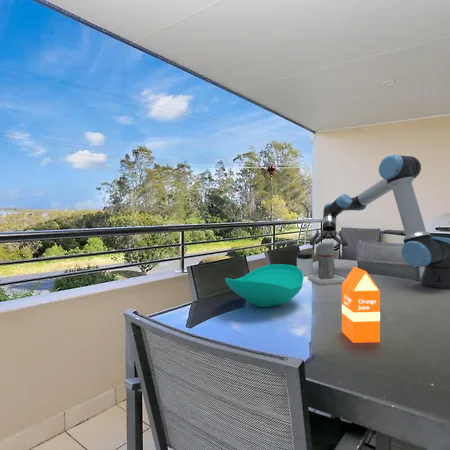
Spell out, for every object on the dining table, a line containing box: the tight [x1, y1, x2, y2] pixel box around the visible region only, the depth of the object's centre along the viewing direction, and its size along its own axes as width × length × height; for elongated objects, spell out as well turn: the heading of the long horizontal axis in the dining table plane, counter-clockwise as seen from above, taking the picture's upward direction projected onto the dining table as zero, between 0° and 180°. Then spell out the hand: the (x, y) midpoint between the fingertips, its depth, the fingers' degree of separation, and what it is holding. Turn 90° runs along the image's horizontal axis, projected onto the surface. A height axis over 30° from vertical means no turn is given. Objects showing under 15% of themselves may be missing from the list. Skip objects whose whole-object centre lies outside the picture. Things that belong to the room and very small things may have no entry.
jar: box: [296, 252, 314, 277], centre depth 199 cm, size 9×8×12 cm
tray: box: [307, 273, 346, 286], centre depth 179 cm, size 14×14×2 cm
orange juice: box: [341, 266, 381, 344], centre depth 101 cm, size 8×9×20 cm
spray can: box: [317, 240, 335, 280], centre depth 179 cm, size 8×8×20 cm
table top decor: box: [224, 263, 305, 308], centre depth 137 cm, size 40×28×13 cm
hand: (327, 254), depth 188 cm, fingers open, 13 cm apart
